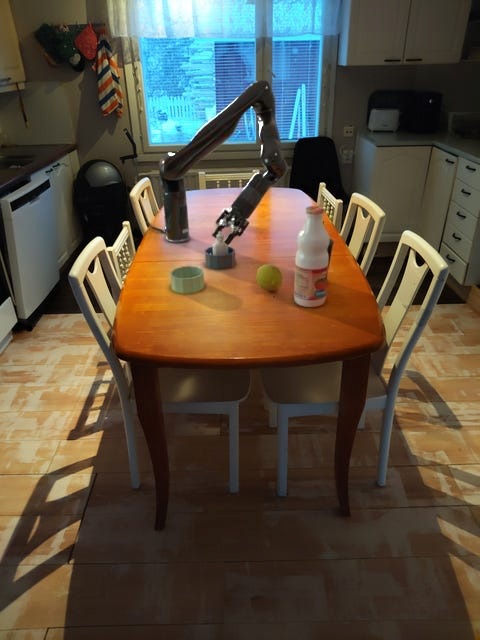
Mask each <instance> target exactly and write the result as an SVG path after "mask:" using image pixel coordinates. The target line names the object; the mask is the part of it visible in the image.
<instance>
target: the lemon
mask: <svg viewBox="0 0 480 640" xmlns="http://www.w3.org/2000/svg"><path fill="white" fill-rule="evenodd" d="M256 282H257V284H258V285H259V287H260V288H261V289H263V290H265V291H268V292H275V291H277V290H279V288H280V287H281V286H282V284H283V274H282V272H281V270H280V269H279V268H278V267H277V266H276V265H274V264H270V263H269V264H268V263H267V264H263V265H261V266H260V267H259V268H258V269H257V272H256Z"/></svg>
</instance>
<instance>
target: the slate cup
mask: <svg viewBox="0 0 480 640" xmlns="http://www.w3.org/2000/svg"><path fill="white" fill-rule="evenodd" d="M235 250H236V249H235V248H234V247H232V246H229V245H228V254H227V255H222V256H215V255H213V246H210V247H207V248H206V249H204V256H205V257H204V258H205V259H204V260H205V267H206V268H209V269H210V270H217V271H220V270H221V271H222V270H227V269H230V268H233V267H234V266H236V251H235Z"/></svg>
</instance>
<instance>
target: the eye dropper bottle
mask: <svg viewBox="0 0 480 640" xmlns="http://www.w3.org/2000/svg"><path fill="white" fill-rule="evenodd" d="M215 239H216V241H215V242H214V243H213V244H212V247H213V255H215V256H222V255H227V254H228V246H229V245H227V244H226V243H225V242H224V240H225V238H224V234H223V233H222V232H221V231H219V233H218V235H216V238H215Z"/></svg>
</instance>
